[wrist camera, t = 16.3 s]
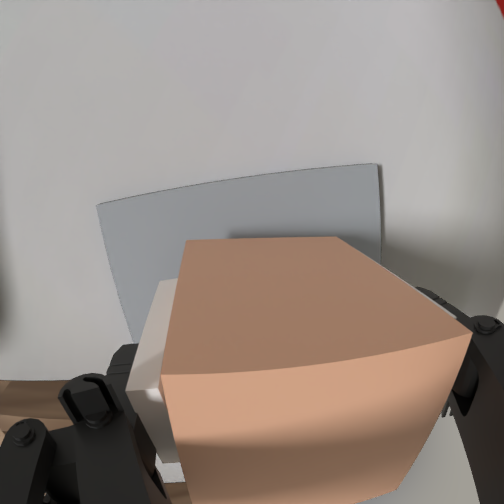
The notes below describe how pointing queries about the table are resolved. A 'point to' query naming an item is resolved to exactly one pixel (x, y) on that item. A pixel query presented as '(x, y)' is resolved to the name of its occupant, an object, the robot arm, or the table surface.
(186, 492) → the bay
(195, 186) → the mat
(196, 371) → the block
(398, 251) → the table surface
